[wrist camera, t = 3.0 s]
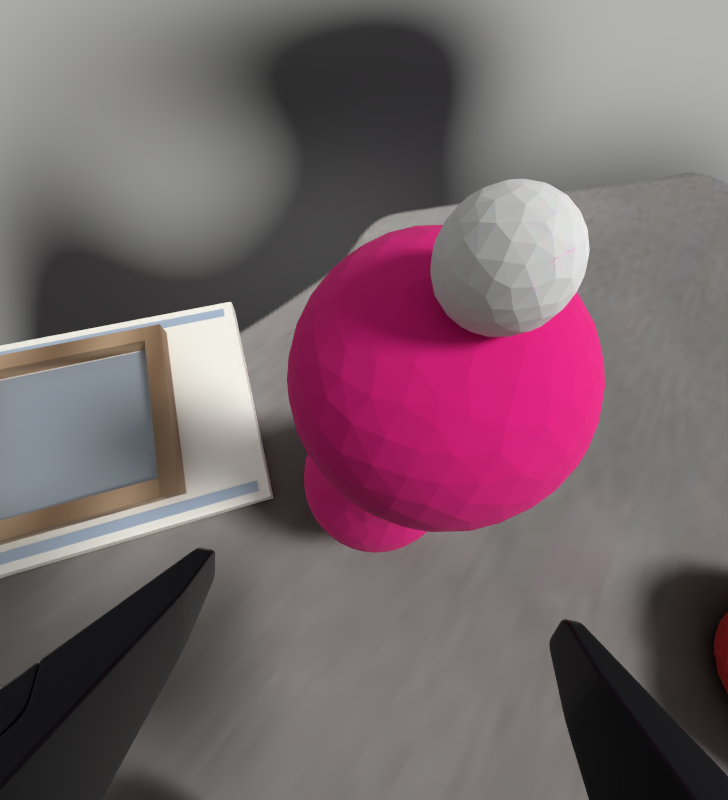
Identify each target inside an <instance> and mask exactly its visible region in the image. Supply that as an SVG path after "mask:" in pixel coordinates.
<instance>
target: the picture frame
mask: <svg viewBox="0 0 728 800" xmlns="http://www.w3.org/2000/svg"><path fill="white" fill-rule="evenodd" d="M158 324H160V325H161V326H162V328H163V329H164V330H165V331H166V333H167V340H168V348H169V356H170V365H171V373H172V381H173V389H174V397H175V405H176V413H177V421H178V429H179V437H180V445H181V453H182V461H183V469H184V477H185V485H186V493H185V494H182V495H178V496H175V497H171V498H168V499H164V500H160V501H157V502H153V503H150V504H146V505H142V506H139V507H135V508H132V509H128V510H124V511H121V512H117V513H114V514H110V515H107V516H103V517H99V518H96V519H92V520H89V521H85V522H81V523H78V524H74V525H71V526H67V527H64V528H60V529H56V530H53V531H49V532H46V533H42V534H38V535H35V536H31V537H28V538H24V539H20V540H17V541H13V542H10V543H6V544H3V545H0V578H3V577H7V576H10V575H13V574H17V573H20V572H24V571H27V570H30V569H34V568H37V567H41V566H44V565H47V564H51V563H54V562H58V561H61V560H65V559H68V558H71V557H75V556H78V555H82V554H85V553H88V552H92V551H95V550H99V549H102V548H105V547H109V546H112V545H116V544H119V543H122V542H126V541H129V540H133V539H136V538H139V537H143V536H146V535H150V534H153V533H157V532H160V531H163V530H167V529H170V528H174V527H177V526H180V525H184V524H187V523H191V522H194V521H197V520H201V519H204V518H208V517H211V516H214V515H218V514H221V513H225V512H228V511H231V510H235V509H238V508H242V507H245V506H249V505H252V504H255V503H259V502H262V501H266V500H269V499H272V498H274V497H273V492H272V488H271V483H270V478H269V473H268V468H267V464H266V459H265V454H264V449H263V444H262V440H261V435H260V430H259V425H258V420H257V415H256V411H255V406H254V401H253V396H252V391H251V387H250V382H249V377H248V372H247V367H246V363H245V358H244V353H243V348H242V343H241V338H240V334H239V329H238V325H237V319H236V314H235V310H234V308H233V305H232V303H231V302H228V303H222V304H217V305H211V306H206V307H201V308H196V309H191V310H185V311H180V312H175V313H170V314H165V315H159V316H154V317H149V318H144V319H138V320H133V321H128V322H122V323H118V324H112V325H107V326H102V327H96V328H91V329H86V330H80V331H75V332H70V333H65V334H60V335H55V336H49V337H44V338H39V339H33V340H28V341H23V342H18V343H13V344H8V345H2V346H0V355H4V354H9V353H14V352H19V351H25V350H30V349H35V348H40V347H45V346H50V345H55V344H60V343H66V342H71V341H76V340H81V339H86V338H91V337H96V336H101V335H107V334H112V333H117V332H122V331H127V330H132V329H137V328H143V327H148V326H153V325H158ZM157 478H158V471H157V461H156V451H155V441H154V431H153V421H152V411H151V400H150V390H149V380H148V370H147V360H146V350H142V351H137V352H132V353H127V354H123V355H118V356H113V357H108V358H103V359H98V360H93V361H88V362H84V363H79V364H74V365H69V366H64V367H59V368H54V369H50V370H45V371H40V372H35V373H30V374H25V375H20V376H16V377H11V378H6V379H1V380H0V520H4V519H8V518H11V517H15V516H19V515H23V514H26V513H30V512H34V511H38V510H41V509H45V508H49V507H53V506H56V505H60V504H64V503H67V502H71V501H75V500H79V499H82V498H86V497H90V496H94V495H97V494H101V493H105V492H108V491H112V490H116V489H120V488H123V487H127V486H131V485H135V484H138V483H142V482H146V481H150V480H153V479H157Z"/></svg>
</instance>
